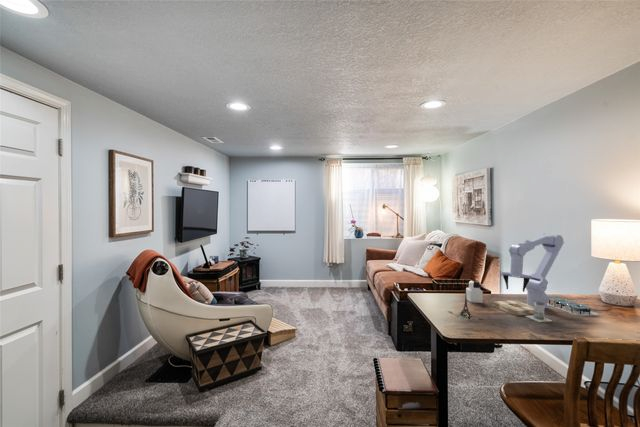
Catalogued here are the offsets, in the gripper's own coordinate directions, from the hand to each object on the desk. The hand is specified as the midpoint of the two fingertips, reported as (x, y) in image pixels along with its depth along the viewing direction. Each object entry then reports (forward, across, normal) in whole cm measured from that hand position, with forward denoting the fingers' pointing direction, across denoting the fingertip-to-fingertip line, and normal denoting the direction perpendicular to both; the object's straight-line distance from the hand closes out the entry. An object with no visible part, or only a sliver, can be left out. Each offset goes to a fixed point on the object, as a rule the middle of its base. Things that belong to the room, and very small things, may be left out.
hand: (515, 290), depth 170 cm
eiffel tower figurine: (+12, -22, -29) cm, 39 cm away
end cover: (+10, +10, -13) cm, 19 cm away
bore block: (+10, 0, -3) cm, 11 cm away
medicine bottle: (+11, -21, +2) cm, 24 cm away
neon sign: (+10, +33, +23) cm, 41 cm away
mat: (+10, +10, -13) cm, 19 cm away
